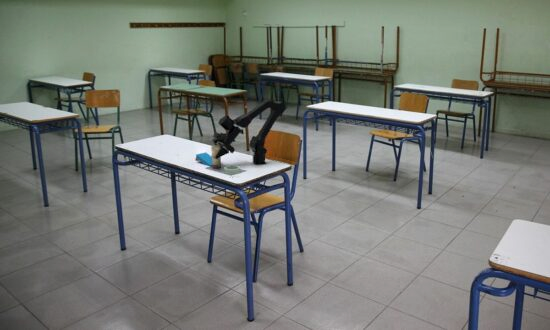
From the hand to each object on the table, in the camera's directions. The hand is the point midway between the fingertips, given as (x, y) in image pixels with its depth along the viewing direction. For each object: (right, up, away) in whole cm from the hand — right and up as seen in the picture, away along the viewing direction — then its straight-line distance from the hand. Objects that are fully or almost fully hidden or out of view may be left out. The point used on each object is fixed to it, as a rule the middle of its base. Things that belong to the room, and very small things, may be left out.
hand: (213, 157), depth 262 cm
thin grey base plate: (+7, -8, -1) cm, 10 cm away
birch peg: (+1, -5, +2) cm, 6 cm away
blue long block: (-6, -4, +14) cm, 16 cm away
